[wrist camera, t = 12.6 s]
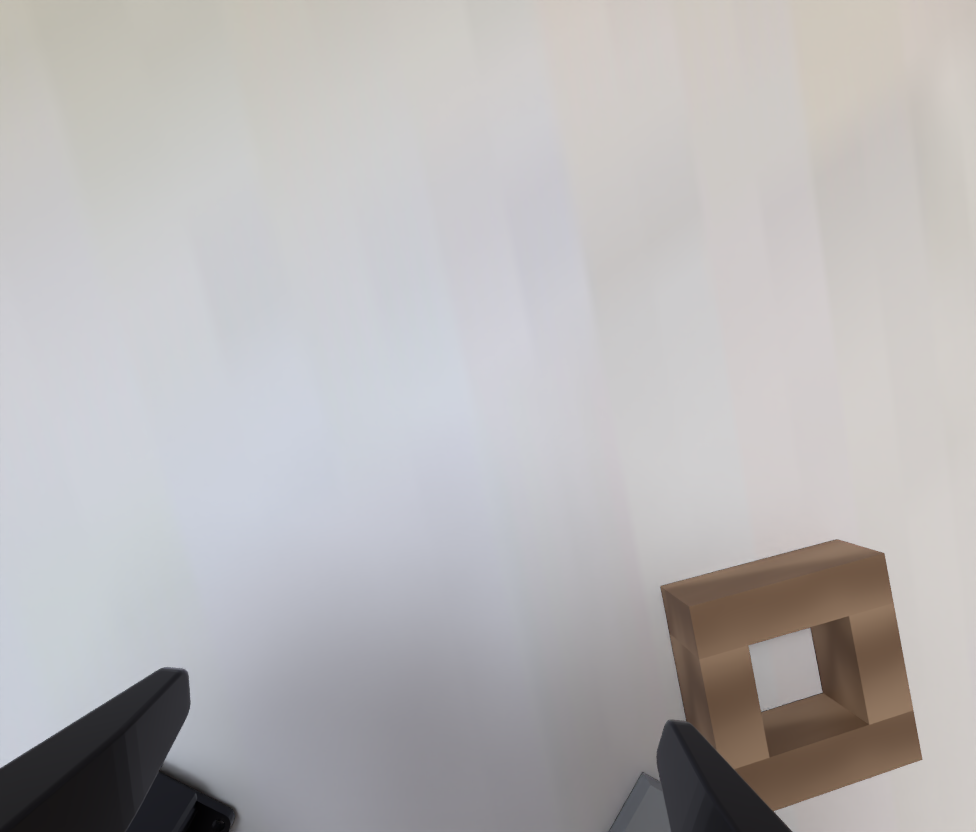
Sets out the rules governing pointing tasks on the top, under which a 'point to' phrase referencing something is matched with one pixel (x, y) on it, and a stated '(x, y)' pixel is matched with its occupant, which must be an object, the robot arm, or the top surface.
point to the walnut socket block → (841, 661)
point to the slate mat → (643, 809)
